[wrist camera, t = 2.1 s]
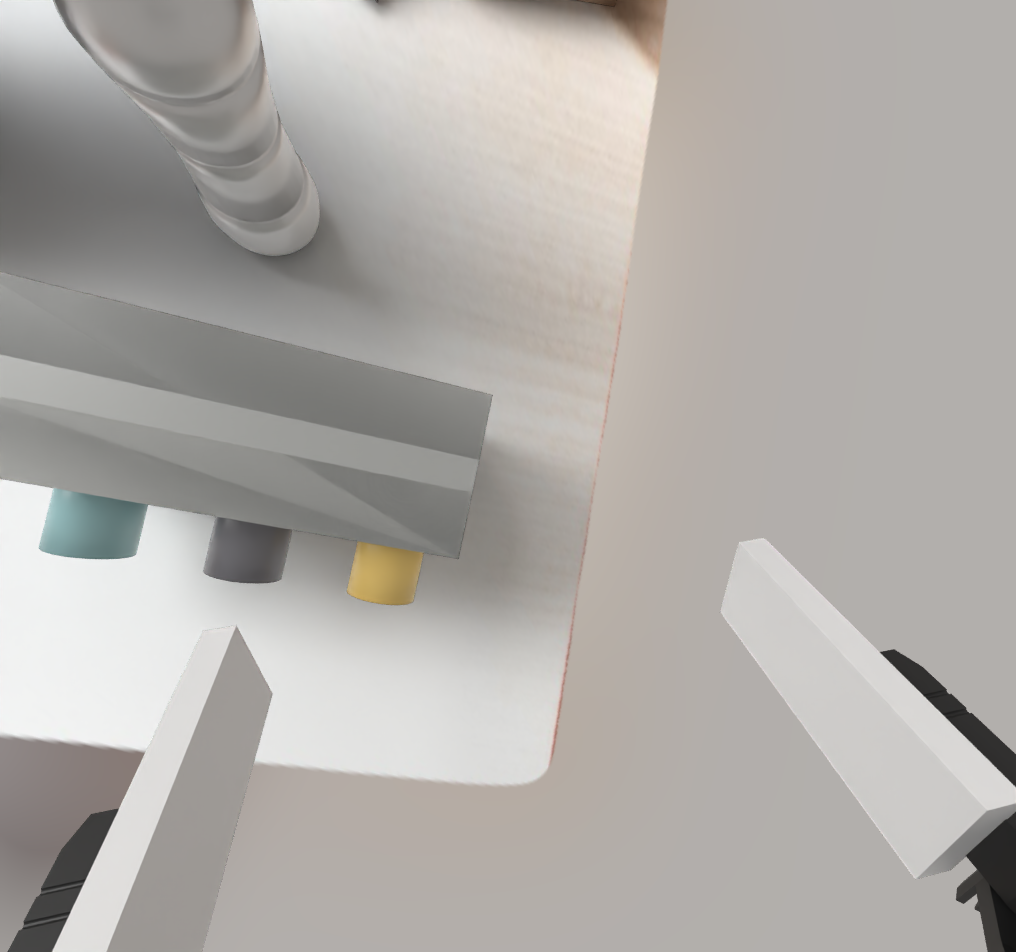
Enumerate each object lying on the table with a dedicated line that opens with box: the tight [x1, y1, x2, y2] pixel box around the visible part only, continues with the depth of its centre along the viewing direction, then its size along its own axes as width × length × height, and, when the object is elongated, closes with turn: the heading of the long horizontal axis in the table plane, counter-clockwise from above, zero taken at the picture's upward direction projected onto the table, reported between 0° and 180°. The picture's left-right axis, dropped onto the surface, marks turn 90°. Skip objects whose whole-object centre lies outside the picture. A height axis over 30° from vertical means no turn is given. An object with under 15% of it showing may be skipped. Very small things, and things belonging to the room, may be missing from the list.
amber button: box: [347, 541, 424, 605], centre depth 26 cm, size 5×4×4 cm
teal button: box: [39, 488, 148, 559], centre depth 23 cm, size 5×4×4 cm
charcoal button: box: [203, 517, 292, 583], centre depth 24 cm, size 5×4×4 cm
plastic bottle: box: [53, 0, 320, 256], centre depth 22 cm, size 6×7×20 cm
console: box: [0, 272, 493, 559], centre depth 25 cm, size 8×20×13 cm, turn 79°
